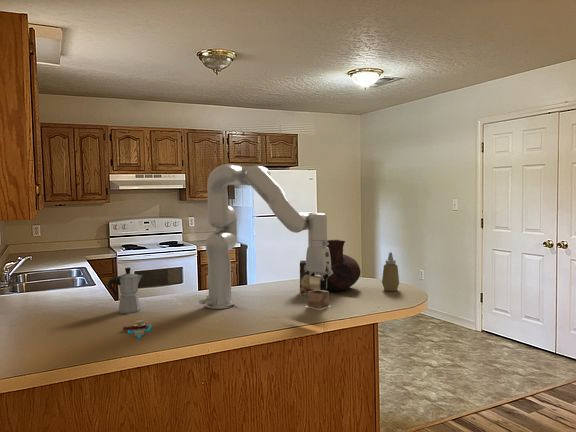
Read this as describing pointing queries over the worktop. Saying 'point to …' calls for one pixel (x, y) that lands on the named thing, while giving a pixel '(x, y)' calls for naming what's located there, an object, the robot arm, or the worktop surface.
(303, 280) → the coffee box
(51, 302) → the worktop surface
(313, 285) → the maple cube
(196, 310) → the worktop surface
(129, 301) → the coffee maker
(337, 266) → the jug
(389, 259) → the squeeze bottle
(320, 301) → the walnut base block
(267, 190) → the robot arm
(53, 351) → the worktop surface
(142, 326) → the gear mechanism
